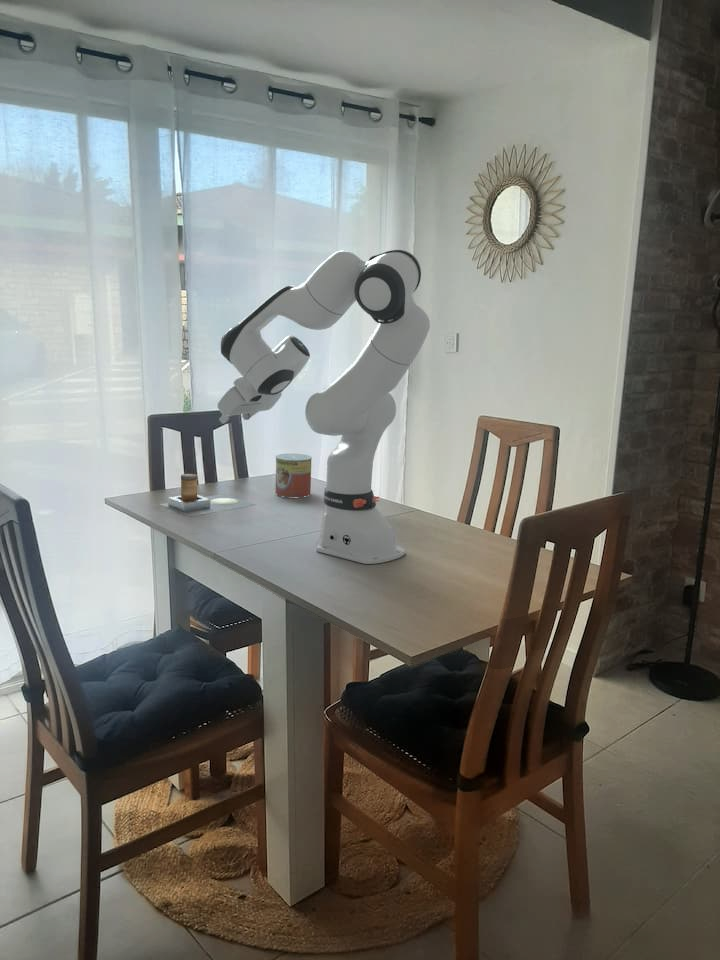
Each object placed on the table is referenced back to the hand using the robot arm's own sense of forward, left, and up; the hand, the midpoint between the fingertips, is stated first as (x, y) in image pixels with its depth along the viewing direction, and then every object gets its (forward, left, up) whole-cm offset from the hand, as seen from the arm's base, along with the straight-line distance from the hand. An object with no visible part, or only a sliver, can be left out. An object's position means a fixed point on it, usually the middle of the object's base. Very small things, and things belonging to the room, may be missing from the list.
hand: (233, 419), depth 194 cm
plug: (+13, +6, -26) cm, 30 cm away
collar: (+13, +6, -26) cm, 30 cm away
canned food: (+12, -31, -28) cm, 44 cm away
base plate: (+12, 0, -27) cm, 30 cm away
